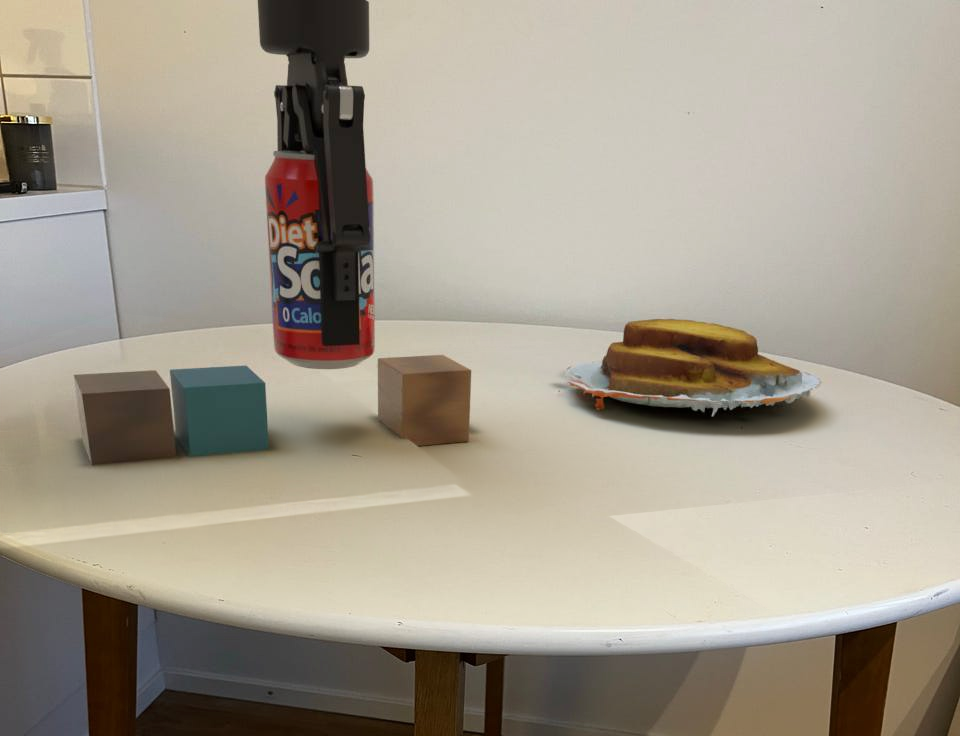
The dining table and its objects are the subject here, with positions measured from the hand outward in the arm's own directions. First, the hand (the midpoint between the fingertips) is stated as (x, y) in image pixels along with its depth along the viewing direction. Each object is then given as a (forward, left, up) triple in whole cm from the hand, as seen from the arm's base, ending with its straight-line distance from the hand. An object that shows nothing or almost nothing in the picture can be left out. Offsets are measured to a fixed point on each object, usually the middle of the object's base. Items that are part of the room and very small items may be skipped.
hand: (323, 333), depth 79 cm
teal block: (-9, 0, -9) cm, 12 cm away
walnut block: (-16, 0, -9) cm, 18 cm away
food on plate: (+38, +4, -9) cm, 40 cm away
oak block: (+8, 0, -9) cm, 12 cm away
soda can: (0, 0, -2) cm, 2 cm away
